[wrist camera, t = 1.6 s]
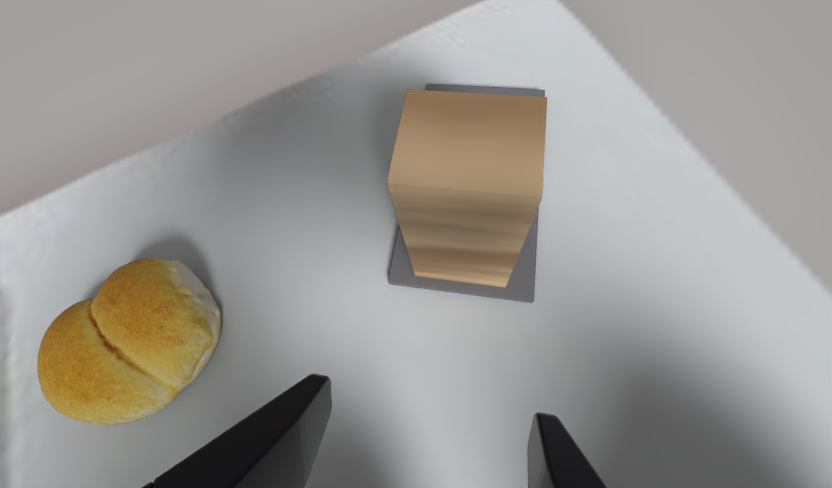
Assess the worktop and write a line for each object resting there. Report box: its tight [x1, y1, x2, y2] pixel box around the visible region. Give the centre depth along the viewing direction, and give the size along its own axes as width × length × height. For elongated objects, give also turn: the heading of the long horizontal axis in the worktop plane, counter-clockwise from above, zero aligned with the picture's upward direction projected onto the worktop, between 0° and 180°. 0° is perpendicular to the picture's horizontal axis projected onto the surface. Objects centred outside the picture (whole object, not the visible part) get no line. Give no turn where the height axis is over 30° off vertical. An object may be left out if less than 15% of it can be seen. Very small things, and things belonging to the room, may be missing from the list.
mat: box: [388, 84, 545, 303], centre depth 25 cm, size 14×8×1 cm, turn 172°
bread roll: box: [38, 258, 221, 424], centre depth 21 cm, size 8×9×4 cm
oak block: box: [387, 89, 547, 288], centre depth 18 cm, size 4×5×10 cm
